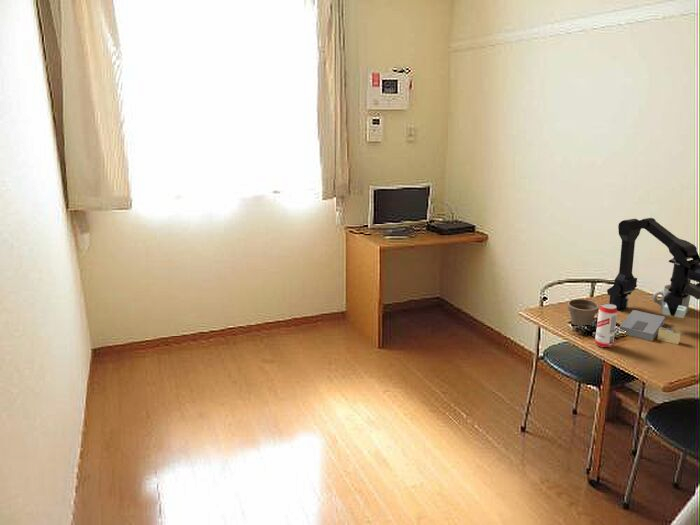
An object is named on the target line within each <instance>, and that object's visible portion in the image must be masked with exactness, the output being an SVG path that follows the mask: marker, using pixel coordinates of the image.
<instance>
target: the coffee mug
mask: <svg viewBox="0 0 700 525" xmlns="http://www.w3.org/2000/svg"><path fill="white" fill-rule="evenodd" d="M669 288H670V284H666V285H664V286H663V290H656V291H654V293H653V296H652V299H653V302H654V303H655V304H657V305H659V306H660V310H661V311H662V312H663V309H664V306H665V304H666V302H663V299H664V296H665V295H666V294H667V293H670V291H669ZM659 295H661V299H660V300H659V299H657V297H658V296H659ZM690 300H691V295H688V296H687V297H686V298H684V303H683V304H682V305H680V306H685V307H687V309H686V313H687V314H688V311H689V305H690Z"/></svg>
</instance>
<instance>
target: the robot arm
mask: <svg viewBox="0 0 700 525" xmlns="http://www.w3.org/2000/svg"><path fill="white" fill-rule="evenodd" d="M617 226H618V235H619V237H620V240H621V249H620V259H619V267H618V268H619V270H618V274H617V275H616V276H615V279H614V282H613V285H612V286H611V287H609V288H608V289H606V293H607V295H608V296H609V302H608V303H609V304H613V305H615V306H616V307H617V308H616V309H617V311H618V312H624V311H625V310H626V309H627V308H628V305H629V298H628V296H630V295H631V294H632V292H634V291H635V290H636V288H638V284H637V283H638V278H637V277H635V276H634V274H633V268H634V267H633V266H634V265H633V264H634V256H635V246H636V240H637V239H638V237H639V236H640V234H641V230H642V229H644V230H645V231H646V232H648V233H650V235H652V236H654V238H656V239H657V240H658V241H659V242H661V243H662V244H663V245H665V246H666V247H667V249H668V251H669V253H670V254H671V255H672V257H673V258H671V259H670V260H668V263H672V264H673V268H672V273H671V277H670V279H669V282H670V284H669V285H670V288H669V291H670V293H667V294H666V295H665V296H664V299H663V302H666V303H667V306H668V308H669V311H670V314H671V317H675V316H674V315H675V313H676V311H677V308H678V306H679V305H682V304H683V303H684V298H686V297H687V296H688V295H690V297H693V298H695V299H696V300H700V255H699V252H698V250H697V249H698V248H697V246H696V245H695V244H693V243H691V242H689V241H687V240H685V239H681V238H679V237H677V236H676V235H675V234H673V233H672V232H671V231H670V230H668V229H666V227H664V226H663V225H661V224H660V223H659V222H658V221H656V219H655V218H653V217H646V218H642V219H637V218H629V219H624V220H621V221H620V222H619V223H618V225H617ZM691 281H694V282H696V283H692V282H691Z"/></svg>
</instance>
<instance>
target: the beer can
mask: <svg viewBox="0 0 700 525" xmlns="http://www.w3.org/2000/svg"><path fill="white" fill-rule="evenodd" d="M616 308H617V307H616V306H615V305H613V304H609V302H607V303H606V302H605V303H602V304H601V306H599V309H598V313H597V323H596V331H595V338H594V342H595V344H596V346H597V345H598V346H597V347H599V346H601V347H600V348H602V347H610V348H611V347H613V346H614V342H615V341H614V340H615V333H616V325H617V318H618V312H619V310H617V309H616Z"/></svg>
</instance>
